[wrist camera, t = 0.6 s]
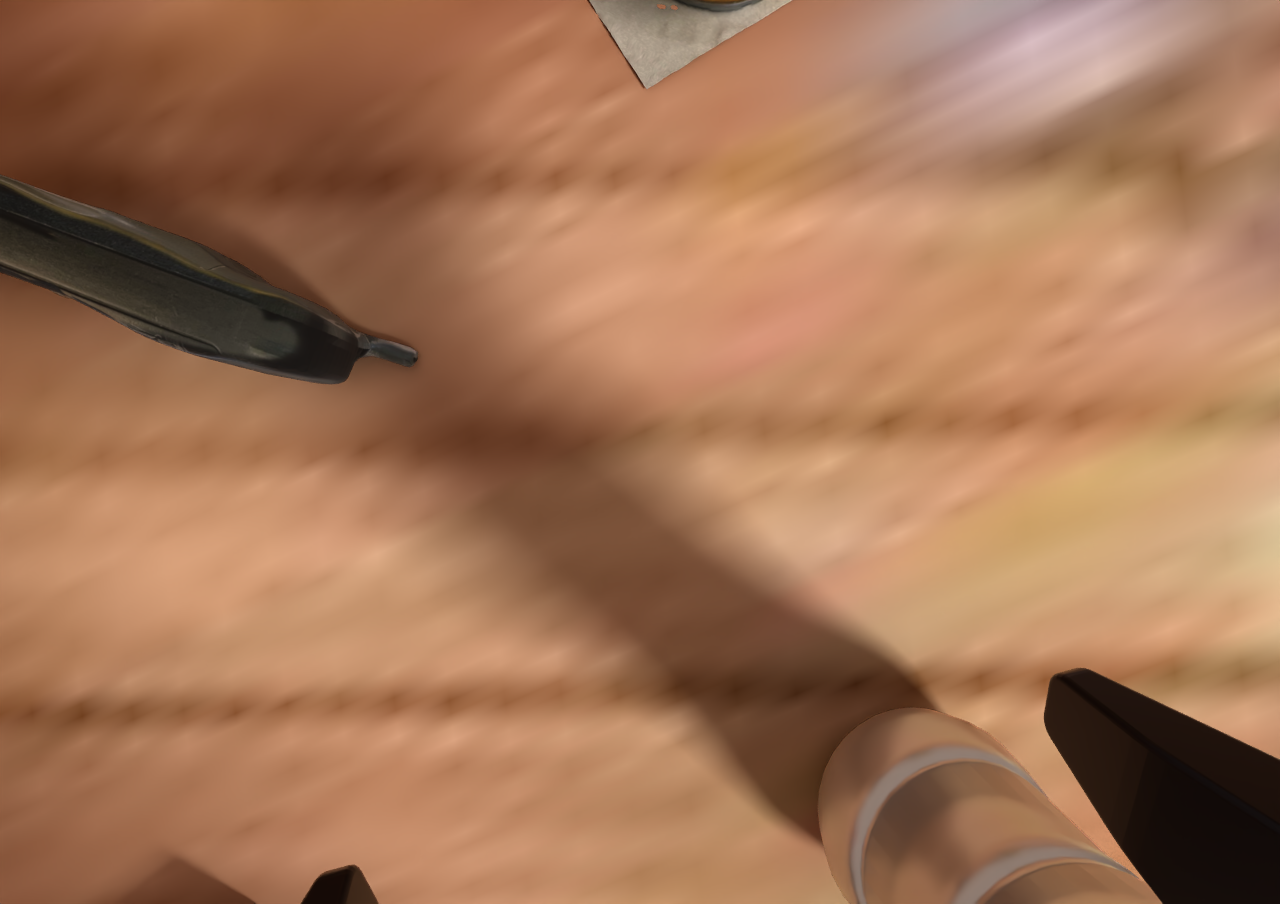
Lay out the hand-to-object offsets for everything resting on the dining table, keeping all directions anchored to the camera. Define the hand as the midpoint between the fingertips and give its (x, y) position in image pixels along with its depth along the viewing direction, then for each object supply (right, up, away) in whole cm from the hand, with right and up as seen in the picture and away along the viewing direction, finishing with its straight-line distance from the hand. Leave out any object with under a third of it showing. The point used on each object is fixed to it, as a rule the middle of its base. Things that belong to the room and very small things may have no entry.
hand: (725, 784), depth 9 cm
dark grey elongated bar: (-16, +9, +15) cm, 24 cm away
